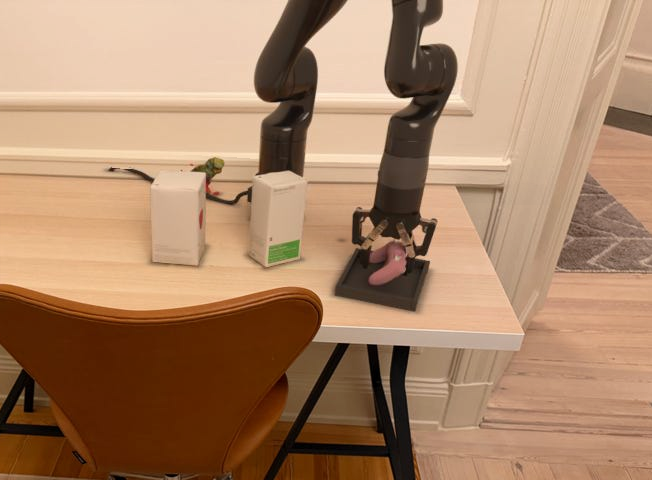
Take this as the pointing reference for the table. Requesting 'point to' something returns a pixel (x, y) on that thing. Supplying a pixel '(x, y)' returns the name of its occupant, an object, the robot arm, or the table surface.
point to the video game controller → (388, 262)
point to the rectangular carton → (178, 217)
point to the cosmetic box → (277, 217)
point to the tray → (392, 293)
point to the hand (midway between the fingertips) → (385, 270)
